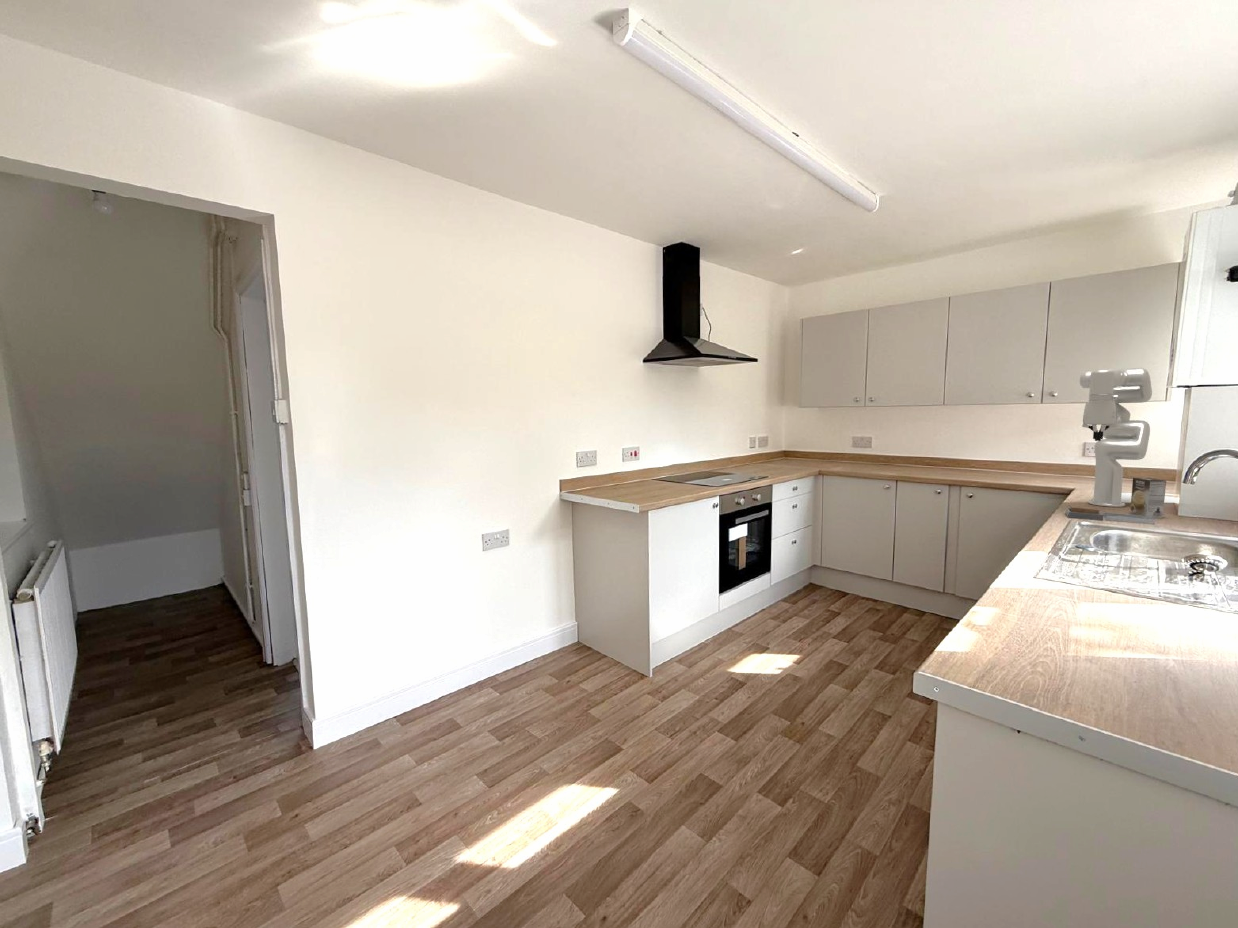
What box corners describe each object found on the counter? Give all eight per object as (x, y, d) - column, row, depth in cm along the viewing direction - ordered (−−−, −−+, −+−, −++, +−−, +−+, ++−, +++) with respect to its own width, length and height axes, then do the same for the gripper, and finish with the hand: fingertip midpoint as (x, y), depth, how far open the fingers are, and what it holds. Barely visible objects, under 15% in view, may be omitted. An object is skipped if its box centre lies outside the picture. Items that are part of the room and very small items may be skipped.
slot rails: (1102, 516, 216) (1102, 512, 216) (1148, 519, 208) (1148, 515, 208) (1105, 520, 209) (1106, 515, 208) (1154, 523, 200) (1154, 519, 200)
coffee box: (1128, 513, 220) (1131, 477, 219) (1146, 514, 219) (1149, 477, 218) (1146, 517, 211) (1149, 480, 210) (1164, 518, 210) (1167, 480, 209)
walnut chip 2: (1082, 516, 218) (1082, 507, 217) (1094, 517, 215) (1095, 507, 215) (1083, 517, 215) (1084, 508, 214) (1096, 518, 212) (1096, 509, 212)
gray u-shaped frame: (1065, 513, 224) (1065, 507, 224) (1098, 515, 218) (1098, 510, 217) (1068, 517, 215) (1068, 512, 214) (1103, 520, 208) (1103, 514, 208)
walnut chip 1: (1069, 515, 220) (1070, 506, 220) (1082, 516, 218) (1082, 506, 218) (1070, 516, 217) (1071, 507, 217) (1083, 517, 215) (1084, 508, 214)
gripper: (1122, 398, 218) (1119, 440, 219) (1076, 399, 227) (1073, 440, 228) (1126, 397, 212) (1123, 441, 213) (1078, 399, 221) (1075, 441, 222)
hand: (1097, 440), depth 221 cm, fingers closed
